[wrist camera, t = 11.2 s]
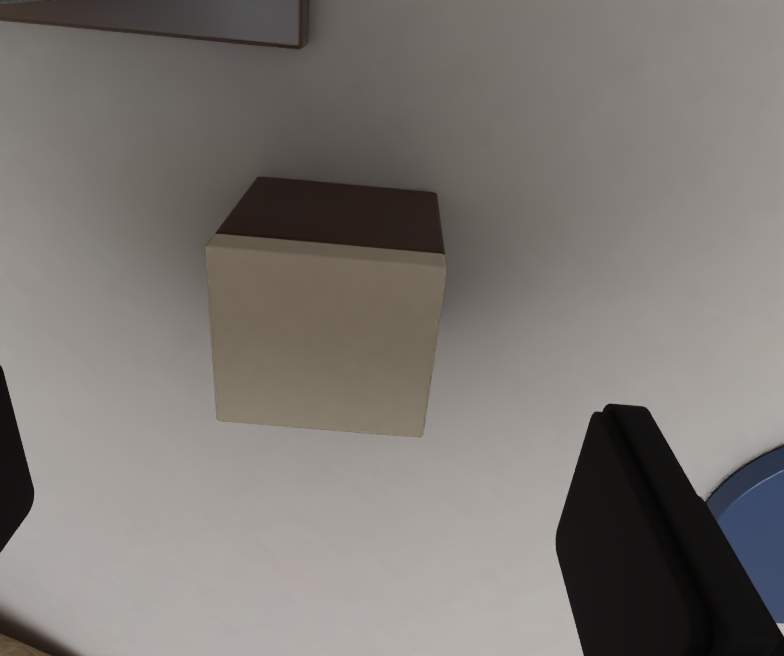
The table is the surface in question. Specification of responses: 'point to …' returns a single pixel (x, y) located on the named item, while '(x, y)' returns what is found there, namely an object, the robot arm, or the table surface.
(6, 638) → the ice cream cone
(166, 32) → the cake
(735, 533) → the plate
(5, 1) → the black and silver bar
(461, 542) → the table surface
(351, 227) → the two-tone brown cube
